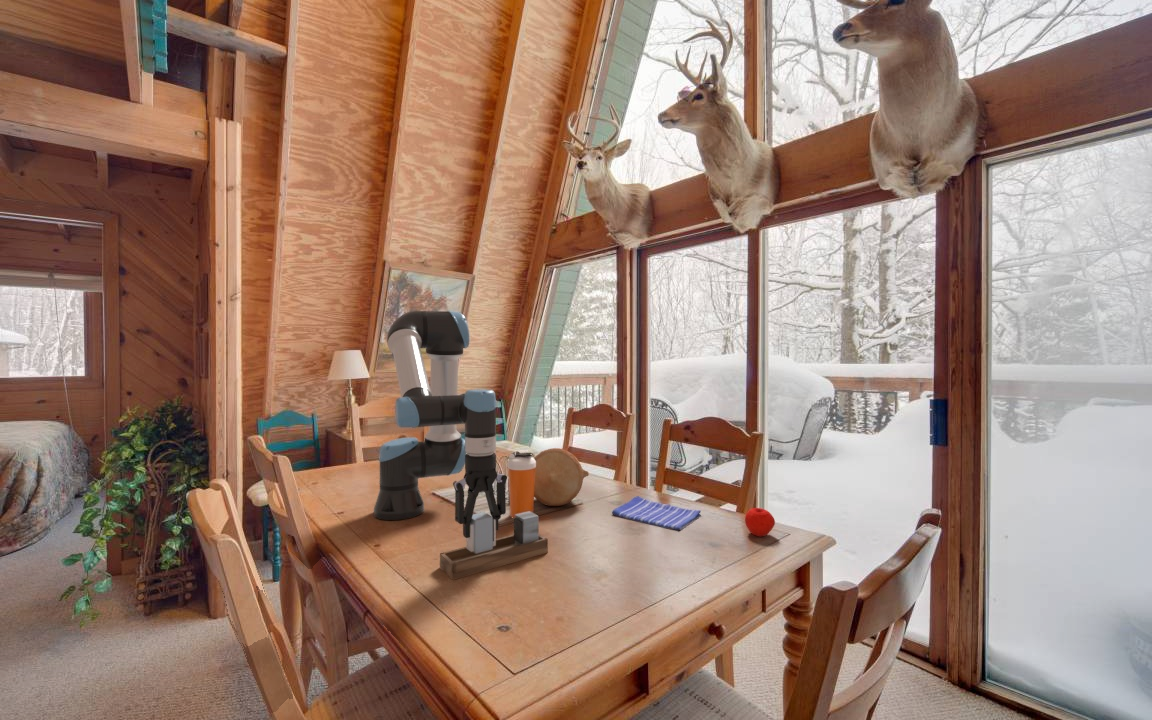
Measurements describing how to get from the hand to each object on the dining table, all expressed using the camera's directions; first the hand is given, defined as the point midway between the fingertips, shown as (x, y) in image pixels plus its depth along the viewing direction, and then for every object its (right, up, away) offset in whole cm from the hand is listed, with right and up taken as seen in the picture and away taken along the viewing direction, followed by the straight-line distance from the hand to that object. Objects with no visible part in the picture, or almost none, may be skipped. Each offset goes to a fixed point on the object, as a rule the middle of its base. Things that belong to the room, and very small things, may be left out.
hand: (481, 546), depth 125 cm
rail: (+3, -4, +3) cm, 6 cm away
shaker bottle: (+6, -3, +35) cm, 35 cm away
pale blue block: (0, 0, 0) cm, 0 cm away
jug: (+17, -3, +54) cm, 56 cm away
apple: (+75, -4, +20) cm, 78 cm away
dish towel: (+49, -4, +36) cm, 61 cm away
